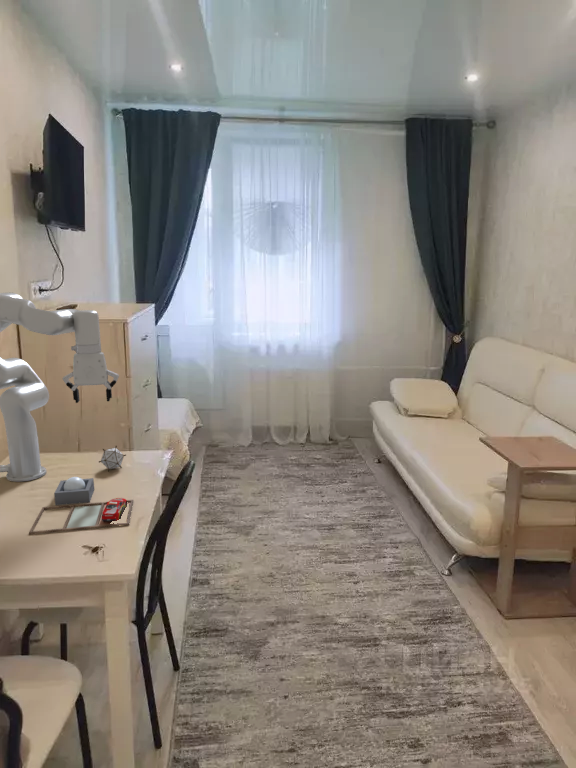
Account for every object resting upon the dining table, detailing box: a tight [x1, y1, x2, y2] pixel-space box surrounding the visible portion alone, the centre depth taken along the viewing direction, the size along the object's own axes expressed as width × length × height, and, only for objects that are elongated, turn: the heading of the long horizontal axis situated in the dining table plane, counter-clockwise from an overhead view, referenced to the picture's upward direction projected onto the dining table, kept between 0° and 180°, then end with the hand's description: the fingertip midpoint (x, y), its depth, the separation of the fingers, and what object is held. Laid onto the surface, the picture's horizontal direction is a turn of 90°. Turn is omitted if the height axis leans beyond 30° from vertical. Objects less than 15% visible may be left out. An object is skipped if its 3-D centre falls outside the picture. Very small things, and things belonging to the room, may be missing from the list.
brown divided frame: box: [28, 499, 134, 535], centre depth 159 cm, size 26×16×1 cm, turn 101°
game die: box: [98, 445, 127, 473], centre depth 195 cm, size 9×8×10 cm
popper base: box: [53, 477, 95, 506], centre depth 172 cm, size 10×10×4 cm
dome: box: [64, 476, 85, 491], centre depth 172 cm, size 6×6×6 cm
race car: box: [101, 497, 128, 522], centre depth 160 cm, size 13×5×4 cm, turn 2°
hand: (93, 401), depth 178 cm, fingers open, 9 cm apart
